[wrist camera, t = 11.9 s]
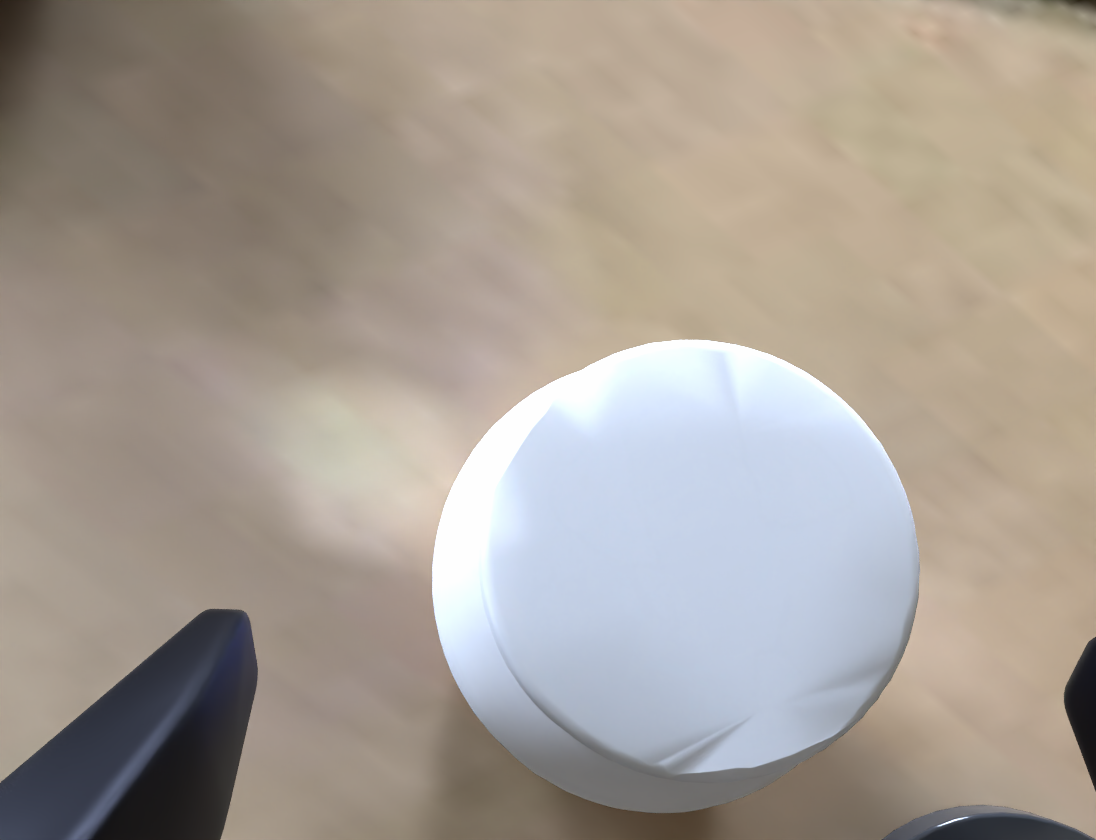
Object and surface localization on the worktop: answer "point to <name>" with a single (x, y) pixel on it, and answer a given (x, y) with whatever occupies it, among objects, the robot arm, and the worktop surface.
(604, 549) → the pill bottle
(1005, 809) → the coaster
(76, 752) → the robot arm
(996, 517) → the worktop surface
